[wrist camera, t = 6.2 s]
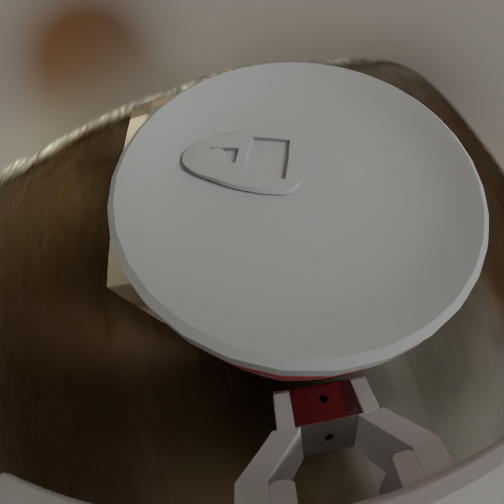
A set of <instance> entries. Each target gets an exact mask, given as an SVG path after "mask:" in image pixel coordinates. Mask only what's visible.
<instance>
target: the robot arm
mask: <svg viewBox="0 0 504 504" xmlns="http://www.w3.org/2000/svg"><path fill="white" fill-rule="evenodd" d="M273 400H274V410H275V419H276V428H277V431H272V432H271V434H270V435H269V437H268V438H267V439H266V441H265V442H264V444H263V445H262V447H261V448H260V450H259V451H258V452H257V454H256V455H255V457H254V458H253V459H252V461H251V462H250V463H249V465H248V466H247V468H246V469H245V470H244V472H243V473H242V474H241V476H240V477H239V478H238V479H237V481H236V482H235V493H234V504H298V501H297V494H296V488H295V482H294V481H292V480H293V478H294V476H295V474H296V472H297V470H298V468H299V466H300V464H301V462H302V460H303V457H305V456H310V455H315V454H319V453H324V452H328V451H333V450H338V449H343V448H347V447H352V446H354V448H356V449H357V450H358V451H359V452H361V453H362V454H363V455H364V456H366V457H367V458H368V459H369V460H371V461H372V462H373V463H374V464H376V465H377V466H378V467H380V468H381V469H382V470H384V471H385V472H386V475H385V477H384V479H383V482H382V484H381V486H380V488H379V493H380V496H376V497H373V498H370V499H366V500H363V501H359V502H355V503H352V504H504V437H502V438H501V439H499V440H498V441H496V442H494V443H493V444H491V445H490V446H488V447H486V448H485V449H483V450H481V451H480V452H478V453H476V454H474V455H473V456H471V457H469V458H467V459H465V460H463V461H461V462H459V463H458V464H456V465H454V463H453V461H452V459H451V457H450V456H449V454H448V452H447V450H446V448H445V446H444V444H443V442H442V441H441V439H440V437H439V436H438V435H436V434H434V433H432V432H430V431H428V430H426V429H424V428H422V427H420V426H418V425H416V424H414V423H413V422H411V421H409V420H407V419H405V418H403V417H401V416H399V415H397V414H396V413H394V412H392V411H390V410H388V409H386V408H385V407H383V408H379V405H378V403H377V401H376V399H375V397H374V395H373V393H372V390H371V388H370V386H369V384H368V382H367V380H366V378H365V376H364V375H359V376H355V377H351V378H348V379H342V380H338V381H334V382H329V383H325V384H320V385H316V386H310V387H304V388H298V389H291V390H286V391H278V392H273ZM0 504H92V503H89V502H85V501H81V500H78V499H75V498H71V497H68V496H65V495H62V494H59V493H56V492H53V491H51V490H48V489H45V488H42V487H40V486H37V485H35V484H32V483H30V482H28V481H25V480H23V479H21V478H19V477H17V476H14V475H12V474H9V473H1V474H0Z"/></svg>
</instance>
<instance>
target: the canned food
mask: <svg viewBox="0 0 504 504" xmlns="http://www.w3.org/2000/svg"><path fill="white" fill-rule="evenodd" d="M107 210H108V221H109V231H110V239H111V242H112V245H113V247H114V250H115V253H116V256H117V258H118V261H119V263H120V266H121V269H122V271H123V273H124V274H125V276H126V277H127V278H128V280H129V281H130V283H131V284H132V286H133V287H134V288H135V290H136V291H137V293H138V294H139V295H140V297H141V298H142V300H143V301H144V302H145V304H146V305H147V306H149V307H150V308H151V309H152V310H153V312H154V313H155V314H156V315H157V316H158V317H159V318H160V319H161V320H162V321H164V322H165V323H166V324H167V325H168V326H169V327H171V328H172V329H173V330H174V331H175V332H177V333H178V334H179V335H180V336H182V337H183V338H184V339H185V340H186V341H188V342H189V343H191V344H192V345H194V346H196V347H198V348H200V349H202V350H203V351H205V352H206V353H208V354H210V355H212V356H214V357H216V358H218V359H221V360H223V361H225V362H227V363H229V364H231V365H233V366H235V367H237V368H239V369H242V370H245V371H248V372H250V373H253V374H256V375H259V376H262V377H266V378H270V379H274V380H279V381H307V380H318V379H325V378H330V377H335V376H340V375H344V374H349V373H353V372H357V371H361V370H364V369H366V368H370V367H374V366H378V365H381V364H383V363H385V362H387V361H389V360H391V359H393V358H395V357H397V356H398V355H400V354H402V353H404V352H406V351H408V350H410V349H412V348H413V347H415V346H417V345H419V344H420V343H421V342H422V341H423V340H425V339H426V338H428V337H430V336H431V335H432V334H434V333H435V332H436V331H437V330H438V329H439V328H440V327H441V326H442V325H443V324H444V323H445V322H446V321H448V320H449V319H450V318H451V317H452V316H453V315H454V314H455V313H456V312H457V311H458V310H459V309H460V308H461V306H462V305H463V303H464V301H465V300H466V298H467V296H468V295H469V293H470V292H471V290H472V288H473V286H474V285H475V283H476V281H477V280H478V278H479V275H480V272H481V269H482V265H483V262H484V258H485V255H486V251H487V247H488V231H489V214H488V208H487V203H486V198H485V193H484V188H483V185H482V183H481V180H480V178H479V175H478V173H477V171H476V168H475V166H474V164H473V161H472V160H471V158H470V156H469V155H468V153H467V152H466V150H465V149H464V147H463V146H462V144H461V143H460V141H459V140H458V138H457V137H456V136H455V135H454V134H453V132H452V131H451V130H450V129H449V128H448V127H447V126H446V125H445V124H444V123H443V122H442V121H441V120H440V119H439V118H438V117H437V116H436V115H435V114H434V113H433V112H431V111H430V110H429V109H428V108H426V107H425V106H424V105H423V104H421V103H420V102H419V101H417V100H416V99H414V98H413V97H411V96H410V95H408V94H406V93H404V92H403V91H401V90H399V89H397V88H396V87H394V86H392V85H390V84H388V83H385V82H383V81H381V80H378V79H376V78H373V77H371V76H368V75H366V74H363V73H359V72H356V71H352V70H348V69H344V68H340V67H336V66H329V65H322V64H315V63H295V62H281V63H270V64H261V65H253V66H249V67H244V68H240V69H236V70H232V71H228V72H225V73H222V74H219V75H216V76H214V77H211V78H208V79H206V80H203V81H201V82H199V83H197V84H195V85H193V86H191V87H190V88H188V89H186V90H184V91H182V92H181V93H179V94H177V95H176V96H174V97H173V98H172V99H170V100H169V101H167V102H166V103H165V104H164V105H162V106H161V107H160V108H158V109H157V110H156V111H155V112H154V113H153V114H152V115H151V116H150V117H149V118H148V119H147V120H146V121H145V122H144V123H143V124H142V125H141V126H140V127H139V128H138V129H137V131H136V132H135V134H134V135H133V137H132V138H131V140H130V141H129V143H128V144H127V146H126V147H125V149H124V150H123V152H122V154H121V156H120V159H119V161H118V164H117V166H116V169H115V171H114V174H113V176H112V179H111V186H110V192H109V199H108V206H107Z"/></svg>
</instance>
